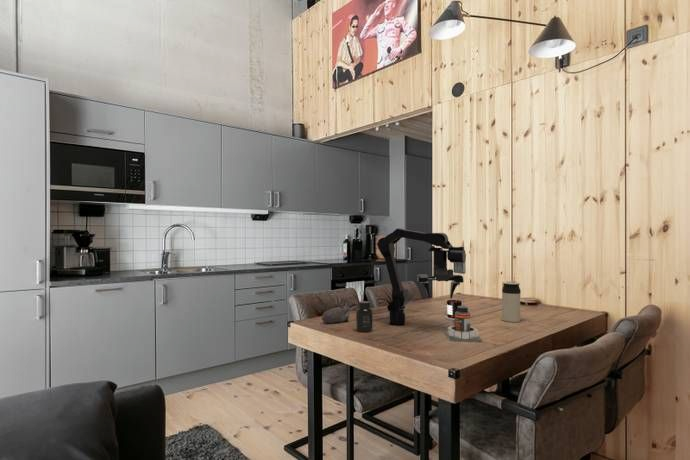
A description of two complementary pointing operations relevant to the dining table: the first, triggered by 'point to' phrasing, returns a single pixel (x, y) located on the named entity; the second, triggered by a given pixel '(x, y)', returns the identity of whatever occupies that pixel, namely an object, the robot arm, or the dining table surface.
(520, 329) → the dining table surface
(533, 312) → the dining table surface
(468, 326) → the supplement bottle
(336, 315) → the perforated stone tool
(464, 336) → the collar
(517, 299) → the travel mug
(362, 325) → the supplement bottle
